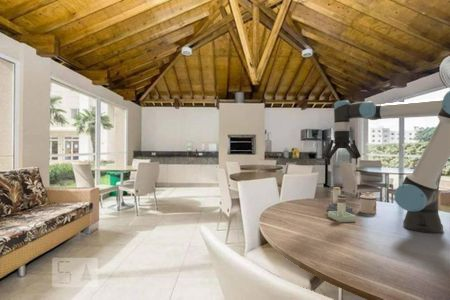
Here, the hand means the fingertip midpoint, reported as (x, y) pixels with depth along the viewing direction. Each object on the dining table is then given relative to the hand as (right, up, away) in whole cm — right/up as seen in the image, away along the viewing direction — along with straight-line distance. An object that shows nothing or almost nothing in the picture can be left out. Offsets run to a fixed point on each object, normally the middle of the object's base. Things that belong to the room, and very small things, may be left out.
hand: (342, 171), depth 143 cm
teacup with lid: (+22, -26, +17) cm, 38 cm away
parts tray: (0, -25, 0) cm, 25 cm away
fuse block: (+5, -25, +15) cm, 30 cm away
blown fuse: (0, -25, 0) cm, 25 cm away
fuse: (+5, -23, +19) cm, 30 cm away
